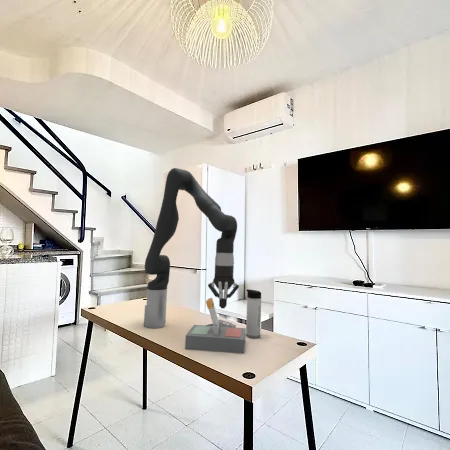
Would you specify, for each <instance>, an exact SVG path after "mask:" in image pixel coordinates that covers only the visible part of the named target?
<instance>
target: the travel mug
mask: <svg viewBox="0 0 450 450" xmlns="http://www.w3.org/2000/svg"><path fill="white" fill-rule="evenodd" d="M246 292H247V294H246V295H247V296H246V322H245V324H246V325H245V326H246V327H245V328H246V332H245V337H247V338H250V339H259V338H261V328H262V327H261V325H262V323H261V321H262V319H261V318H262V292H261V291H259V290H254V289H247V288H246Z"/></svg>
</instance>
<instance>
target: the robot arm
mask: <svg viewBox="0 0 450 450" xmlns="http://www.w3.org/2000/svg"><path fill="white" fill-rule="evenodd" d="M179 191H185V192H186V193H187V194H189V195H190V196H191V197H192V198H193V200H194V202H195V205H196V207H197V208H198V209H199V210H200V212H202V213H203V215H205V216H206V217H207V218H208V219H207V220H208V221H209V223H211V226H213V228H214V229H215V230H217V231H218V232H220V233H221V236H220V237H219V238H217V240H216V242H215V245H216V246H215V257H214V277H213V281H212V282H210V283H208V285H207V287H208V288H209V290H210V291H211V293H212V294H213V295H214V296H215V298H218V300H219V301H218V303H219V304H218V305H219V307H220V309H226V307H227V305H228V304H227V302H228V299H230V298H232V296H233V295H234V294H235V293H236V292H237V290H238V289H239V288H240V284H237V283H236V282H235V279H234V267H235V266H234V264H235V260H234V259H235V258H234V249H235V247H234V246H235V245H234V244H235V239H236V236H237V232H238V222H237V221H238V220H237V219H236V217H234V216H232V215H229V214H225V212H223V211H222V207H221V206H220V205H219V204H218V202H217V201H215V199H213V198H212V197H211V196H210V195H209V194H208V193H207V192H206V191H205V190H204V189H203V188H202V186H201V185H200V184H199V182H198V180H196V177H194V175H193V174H192V173H191V172H190V171H188V170H186V169H182V168H178V167H174V168H171V169H170V170H169V171H168V174H167V175H166V181H165V186H164V191H163V198H162V201H161V202H162V203H161V207H160V211H159V214H158V217H157V221H156V226H155V230H154V234H153V238H152V240H151V244H150V247H149V249H148V251H147V255H146V258H145V261H144V271H145V274H147V275H149V276H155V275H156V276H155V278H154V279H152V280H151V281H149V282H148V283H147V289H146V290H147V291H146V304H145V305H144V313H143V314H144V316H143V318H144V319H143V327H146V328H149V329H160V328H164V327H165V326H166V321H167V320H166V319H167V317H166V316H167V300H168V299H167V296H168V285H169V282H170V274H171V273H170V272H171V261H170V258H169V256H167V255H166V254H161V252H162V250H163V248H164V247H165V246H166V245H167V243H168V242H169V241H170V240H171V239H172V237H173V236H175V233H176V231H177V228H178V224H179V220H180V217H179V216H180V215H179V210H178V207H177V198H178V194H179ZM215 286H216V288H217V289H218V290H217V289H216V288H215ZM231 288H233V289H232V290H231V291H230V292H229V290H230V289H231Z"/></svg>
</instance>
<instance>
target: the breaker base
mask: <svg viewBox="0 0 450 450" xmlns="http://www.w3.org/2000/svg"><path fill="white" fill-rule="evenodd" d="M218 321H219V320H218ZM219 324H220V325H219V326H205V324H204V325H203V324H193V326H192V327H190V329H189V330H188V331H187V333H186V335H185V341H184V342H185V343H184V344H185V345H184V349H185V350H194V351H195V350H196V351H207V352H217V353H219V352H220V353H229V354H230V353H231V354H233V353H234V354H244V353H245V347H246V346H245V345H246V327H236V328H234V327H233V326H232V327H221V321H219Z"/></svg>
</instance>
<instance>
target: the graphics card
mask: <svg viewBox="0 0 450 450" xmlns="http://www.w3.org/2000/svg"><path fill="white" fill-rule="evenodd" d="M218 321H221V327H234V328H237V327H236V325H237V324H234V323H231V322H228V321H225V320H223V319H218ZM204 325H205V324H204ZM205 326H213V323H210V324H206V325H205Z"/></svg>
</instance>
